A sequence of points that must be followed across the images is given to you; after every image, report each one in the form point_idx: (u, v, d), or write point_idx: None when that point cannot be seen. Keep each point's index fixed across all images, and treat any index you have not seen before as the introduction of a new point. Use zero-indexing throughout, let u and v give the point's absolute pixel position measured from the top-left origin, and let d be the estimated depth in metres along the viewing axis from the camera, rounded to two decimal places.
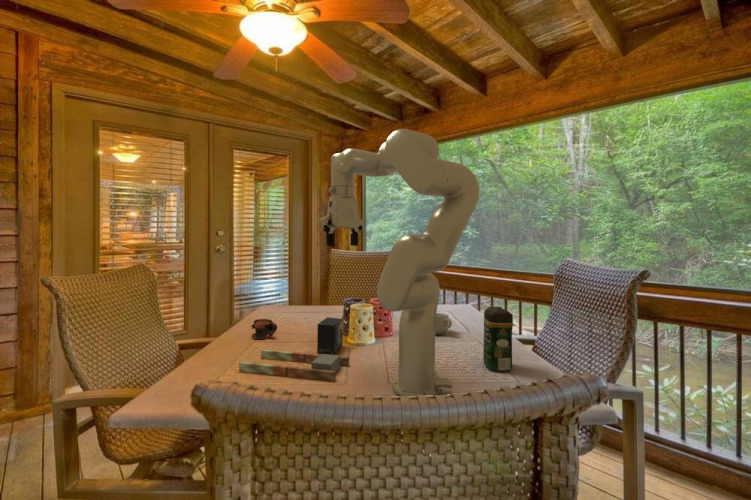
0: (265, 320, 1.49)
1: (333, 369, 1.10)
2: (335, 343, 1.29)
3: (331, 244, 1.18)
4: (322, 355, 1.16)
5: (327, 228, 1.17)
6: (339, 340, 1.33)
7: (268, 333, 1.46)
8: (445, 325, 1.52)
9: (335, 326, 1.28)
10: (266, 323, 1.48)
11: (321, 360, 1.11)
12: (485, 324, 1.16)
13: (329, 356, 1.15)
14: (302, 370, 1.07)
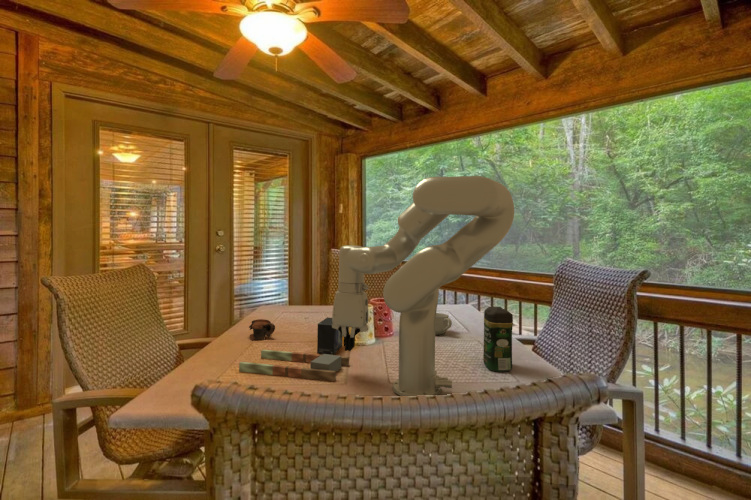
0: (263, 320, 1.48)
1: (332, 369, 1.10)
2: (335, 343, 1.29)
3: None
4: (323, 355, 1.16)
5: None
6: (339, 340, 1.33)
7: (266, 333, 1.45)
8: (445, 325, 1.52)
9: None
10: (264, 323, 1.47)
11: (321, 360, 1.11)
12: (485, 324, 1.16)
13: (330, 356, 1.15)
14: (302, 370, 1.07)
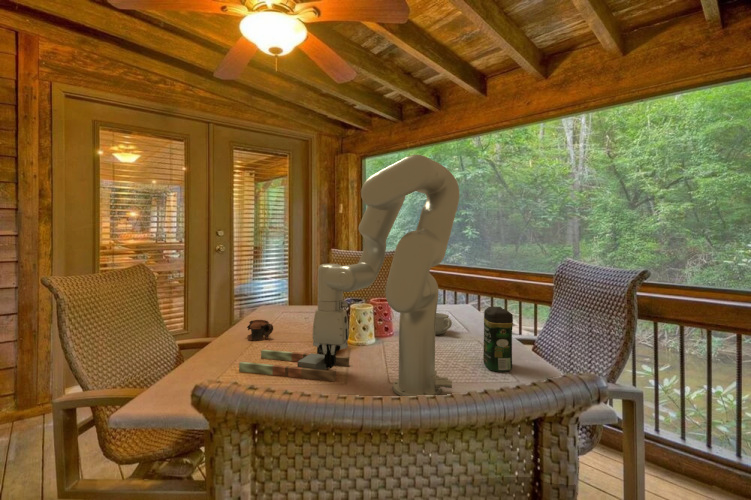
0: (261, 321, 1.47)
1: None
2: None
3: None
4: (311, 354, 1.16)
5: None
6: None
7: (264, 334, 1.45)
8: (445, 325, 1.52)
9: None
10: (262, 324, 1.46)
11: (308, 360, 1.11)
12: (485, 324, 1.16)
13: (317, 356, 1.15)
14: (302, 370, 1.07)
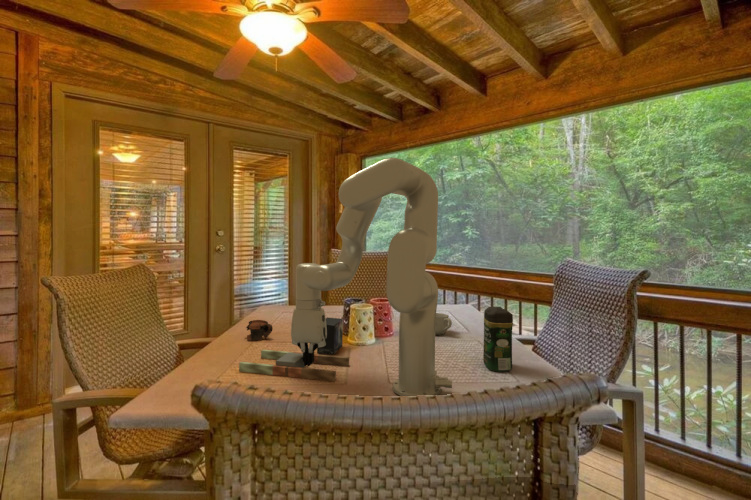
0: (260, 321, 1.47)
1: None
2: (335, 343, 1.29)
3: None
4: (288, 353, 1.17)
5: None
6: (339, 340, 1.33)
7: (263, 334, 1.45)
8: (445, 325, 1.52)
9: (335, 326, 1.28)
10: (261, 324, 1.46)
11: (286, 359, 1.12)
12: (485, 324, 1.16)
13: (295, 354, 1.16)
14: (302, 370, 1.07)
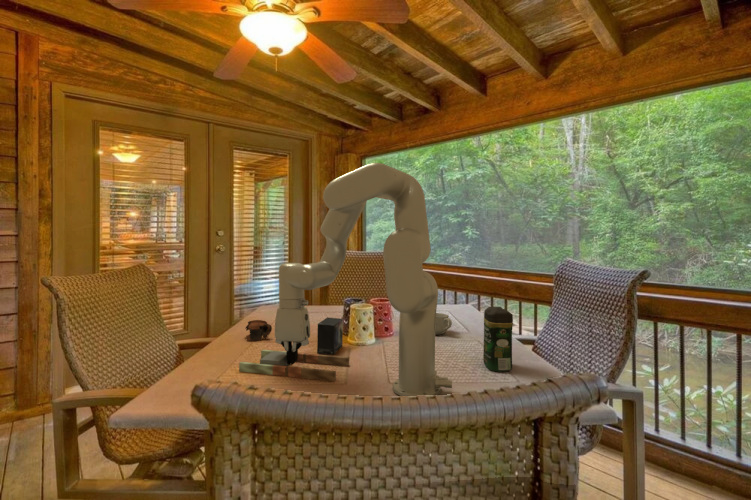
0: (259, 321, 1.47)
1: None
2: (335, 343, 1.29)
3: None
4: (272, 352, 1.18)
5: None
6: (339, 340, 1.33)
7: (263, 334, 1.44)
8: (445, 325, 1.52)
9: (335, 326, 1.28)
10: (261, 324, 1.46)
11: (270, 357, 1.13)
12: (485, 324, 1.16)
13: (279, 353, 1.17)
14: (302, 370, 1.07)
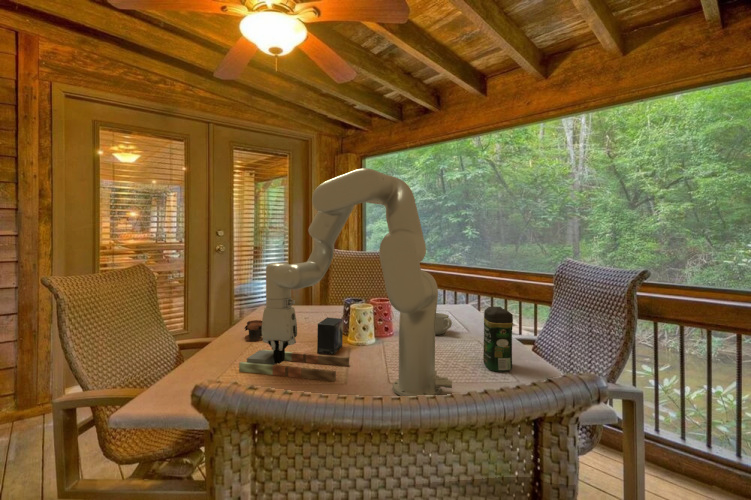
0: (259, 321, 1.47)
1: None
2: (335, 343, 1.29)
3: None
4: (259, 351, 1.19)
5: None
6: (339, 340, 1.33)
7: None
8: (445, 325, 1.52)
9: (335, 326, 1.28)
10: (260, 324, 1.46)
11: (257, 356, 1.14)
12: (485, 324, 1.16)
13: (266, 352, 1.18)
14: (302, 370, 1.07)
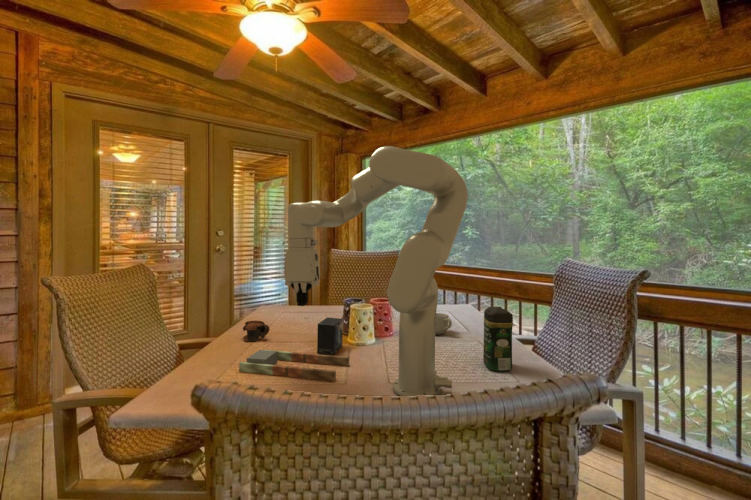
0: (257, 322, 1.46)
1: None
2: (335, 343, 1.29)
3: (306, 302, 1.14)
4: (259, 351, 1.19)
5: None
6: (339, 340, 1.33)
7: (260, 335, 1.43)
8: (445, 325, 1.52)
9: (335, 326, 1.28)
10: (258, 325, 1.45)
11: (257, 356, 1.14)
12: (485, 324, 1.16)
13: (266, 352, 1.18)
14: (302, 370, 1.07)
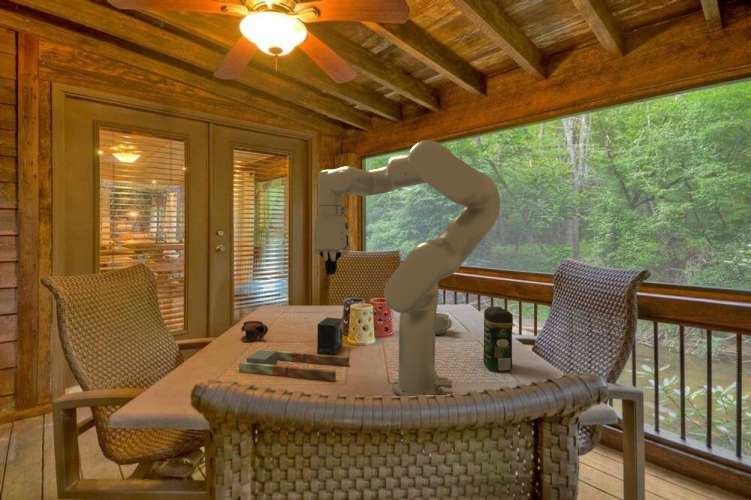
0: (255, 322, 1.45)
1: None
2: (335, 343, 1.29)
3: (334, 271, 1.13)
4: (259, 351, 1.19)
5: None
6: (339, 340, 1.33)
7: (259, 335, 1.43)
8: (445, 325, 1.52)
9: (335, 326, 1.28)
10: (256, 325, 1.44)
11: (257, 356, 1.14)
12: (485, 324, 1.16)
13: (266, 352, 1.18)
14: (302, 370, 1.07)
